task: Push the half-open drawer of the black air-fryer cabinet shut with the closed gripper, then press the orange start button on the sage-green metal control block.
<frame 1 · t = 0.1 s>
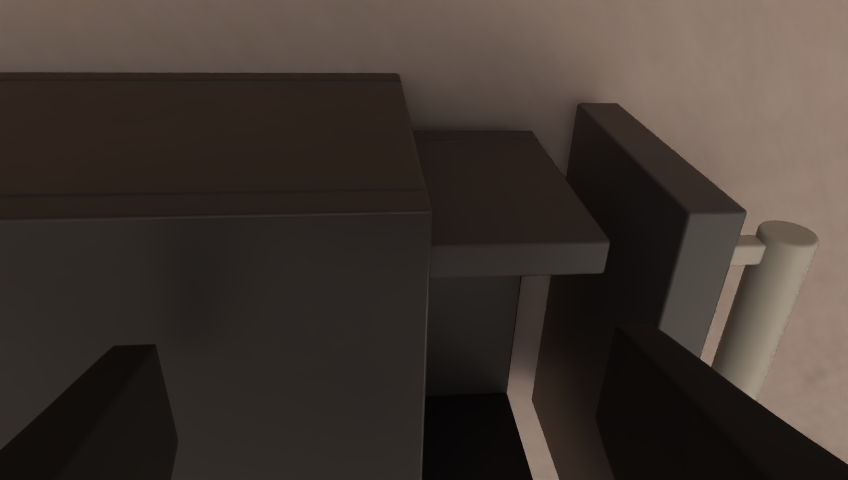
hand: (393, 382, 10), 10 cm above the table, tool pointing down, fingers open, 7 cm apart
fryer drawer: (481, 341, 17), point 4 cm above the table, slide at 5.0 cm
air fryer: (187, 267, 20), on the table
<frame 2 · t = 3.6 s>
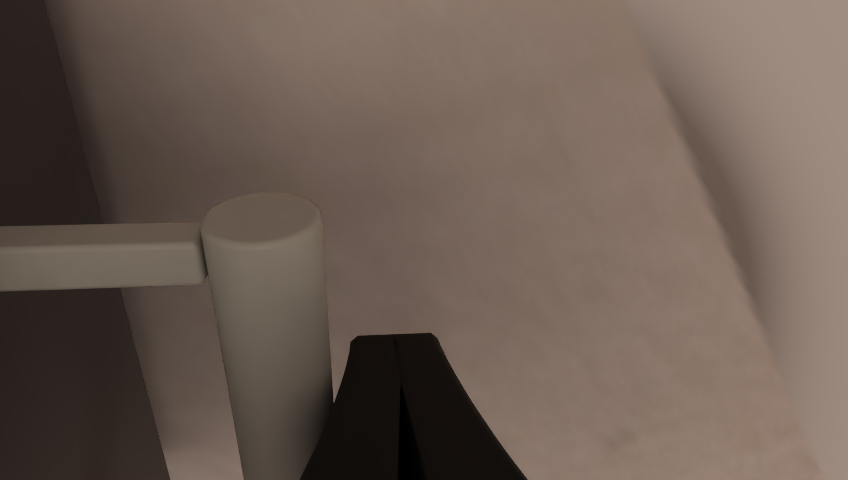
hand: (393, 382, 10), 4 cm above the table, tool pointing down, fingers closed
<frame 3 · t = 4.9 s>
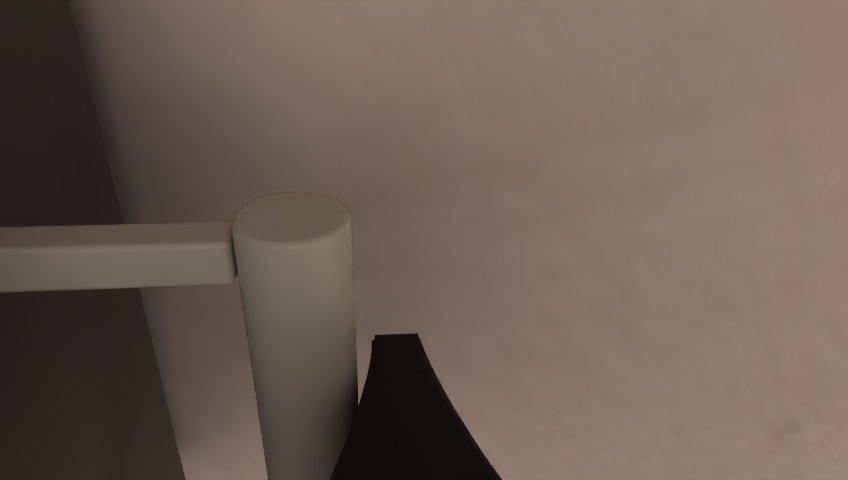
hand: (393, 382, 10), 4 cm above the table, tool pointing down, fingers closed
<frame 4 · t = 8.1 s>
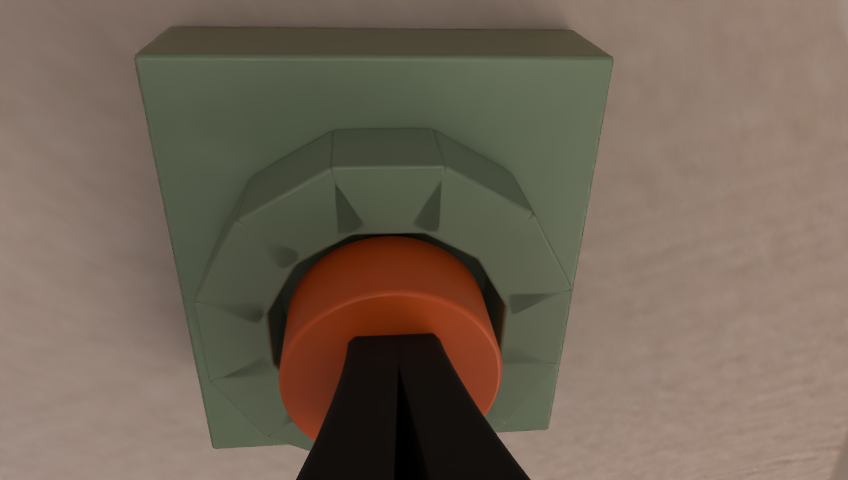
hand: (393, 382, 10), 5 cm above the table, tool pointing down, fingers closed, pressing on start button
start button: (389, 349, 11), point 4 cm above the table, slide at 0.0 cm, touching gripper
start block: (379, 227, 14), on the table
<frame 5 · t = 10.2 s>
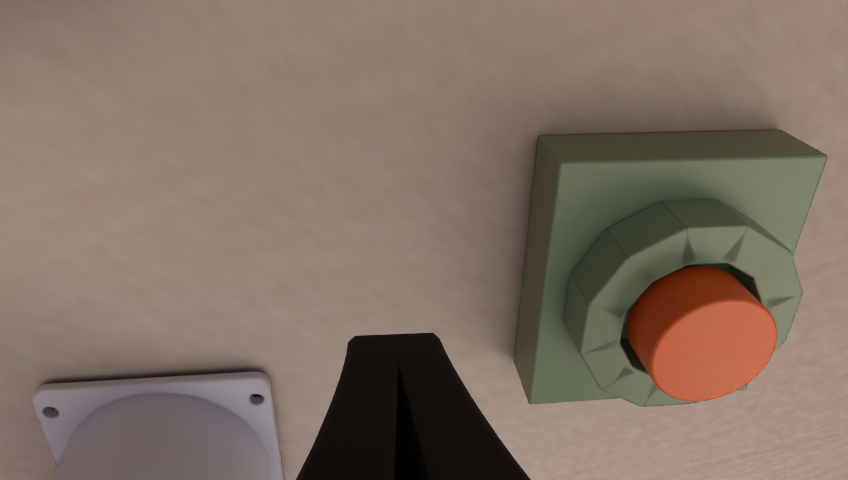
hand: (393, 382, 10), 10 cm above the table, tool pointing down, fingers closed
start button: (698, 333, 18), point 4 cm above the table, slide at 0.1 cm
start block: (636, 255, 22), on the table
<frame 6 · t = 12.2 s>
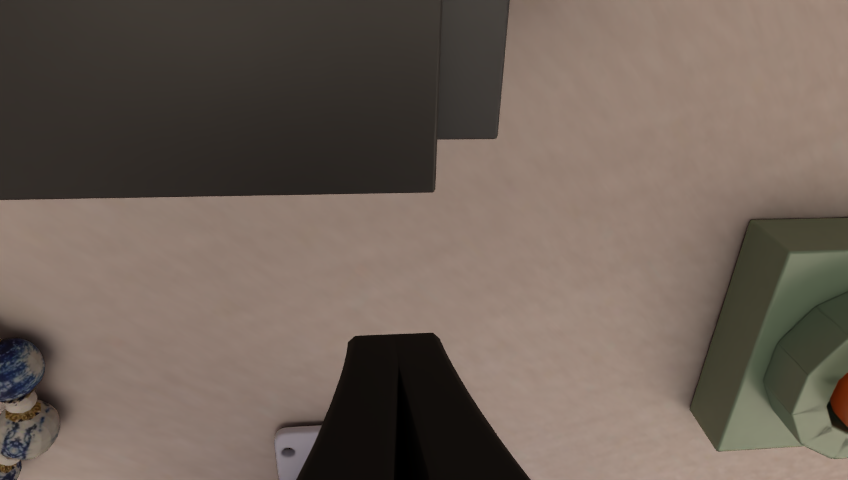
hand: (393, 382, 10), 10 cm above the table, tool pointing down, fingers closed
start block: (813, 319, 24), on the table
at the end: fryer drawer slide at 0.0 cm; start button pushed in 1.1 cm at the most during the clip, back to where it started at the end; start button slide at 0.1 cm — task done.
